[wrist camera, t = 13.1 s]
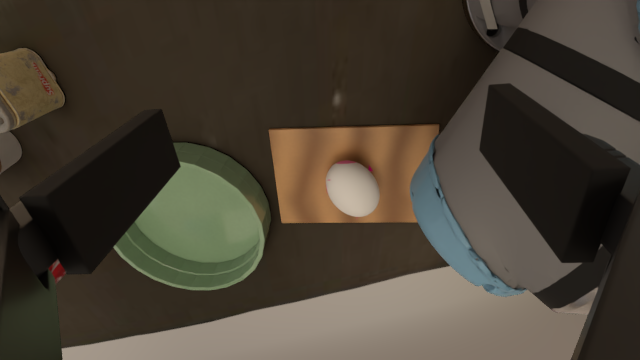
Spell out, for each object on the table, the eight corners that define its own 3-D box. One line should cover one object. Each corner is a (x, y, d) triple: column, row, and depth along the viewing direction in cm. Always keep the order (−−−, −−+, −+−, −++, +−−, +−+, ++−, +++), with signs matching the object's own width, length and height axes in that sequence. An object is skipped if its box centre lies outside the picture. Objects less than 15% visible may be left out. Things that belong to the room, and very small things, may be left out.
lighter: (8, 52, 40) (-84, 75, 31) (35, 43, 39) (-52, 64, 31) (48, 110, 43) (-25, 146, 35) (74, 103, 43) (6, 137, 34)
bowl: (259, 139, 44) (250, 158, 39) (279, 265, 54) (273, 291, 50) (96, 143, 45) (71, 161, 41) (147, 265, 56) (131, 289, 52)
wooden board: (438, 123, 41) (439, 125, 41) (426, 219, 48) (427, 222, 48) (269, 128, 43) (268, 130, 42) (282, 220, 50) (281, 223, 49)
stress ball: (325, 151, 47) (296, 184, 43) (370, 140, 41) (341, 177, 37) (355, 193, 50) (330, 227, 46) (401, 188, 43) (376, 228, 40)
